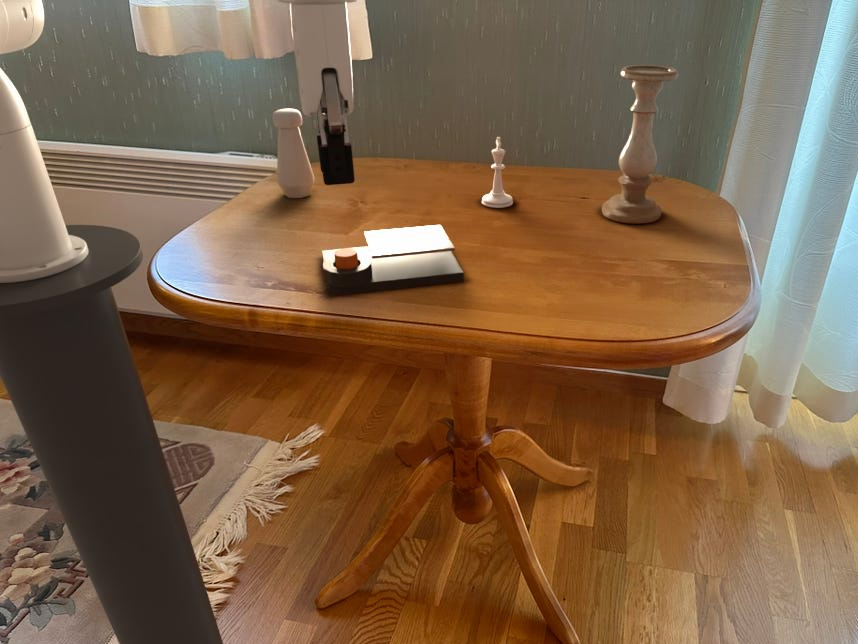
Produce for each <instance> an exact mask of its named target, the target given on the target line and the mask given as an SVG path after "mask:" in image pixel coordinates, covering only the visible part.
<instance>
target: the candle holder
mask: <svg viewBox="0 0 858 644" xmlns="http://www.w3.org/2000/svg"><path fill="white" fill-rule="evenodd" d="M619 74H620V77H621V78H623V79H626V80H631V81H632V83H631V89H632V90H633V91H634V93H635V100H634V102H633V104H632V105H631V106H630V108H629V110H630V111H631V112H632V113H633V116H632V117H633V118H632V124H631V129H630V134H629V137H628V139H627V141H626V143H625V144H624V146H623V147H622V150H621V152H620V154H619V156H618V167H619V169H620V171H621V173H622V175H620V176H619V177H618V182H619V184H620V187H621V193H618V194H614V195H612V196H611V197H610V198H609V199H608V200H607V201H605V202H603V204H602V205H601V213H602V215H603V216H604V217H606V218H607V219H609V220H612V221H615V222H619V223H624V224H625V223H626V224H648V223H653V222H656V221H658V220H659V219H660V218H661V215H662V208H661V206H659V205H658V204H657V203H656V201H655V199H654V198H652V197H650V196H648V195H646V192H647V189H648V188H649V187H650V186H651V185H652V183H653V182H652V178H651V177H650V176H649V175H651V174H652V173H653V172H654V170H655V169H656V167H657V164H658V155H657V152H656V148H655V144H654V141H653V124H654V118H655V114H657V113H659V107H658V104H657V102H656V101H657V96H658V95H659V93H660V92H661V91H662V90H663V89H664V82H670V81H674V80H677V79H678V77H679V72H678V70H677V69H676V68H674V67H671V66H665V65H664V66H663V65H656V64H655V65H654V64H653V65H652V64H634V65H627V66H623V67H622V68H621V70H620V73H619Z"/></svg>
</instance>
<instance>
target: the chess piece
mask: <svg viewBox="0 0 858 644" xmlns="http://www.w3.org/2000/svg"><path fill="white" fill-rule="evenodd" d="M495 144H496V147H495V148H493V149H492V150H491V154H492V157H493V162H494V163H493V164H491V166H490V168H491V169H492V170H494V174H493V182H492V189H491V190H490V192H489V193H486V194H484V195H483V196H482V198H481V204H482V205H483V206H484V207H488V208H494V209H502V208H503V209H504V208H508V207H511V206H512V205H513V203H514V197H512V196H511V195H510V194H508V193H506V191H504V187H503V179H502V178H503V177H502V170H505V169H506V166H505V164H503V163H502V162H503V160H504V156H505V154H506V150H505V149H503V148H501V147H502V142H501V136H496V140H495Z"/></svg>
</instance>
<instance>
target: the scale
mask: <svg viewBox="0 0 858 644" xmlns="http://www.w3.org/2000/svg"><path fill="white" fill-rule="evenodd" d="M350 248H351V249H355V250H356V251H357V255H358V267H355V268H353V269H338V268H336V264H335V255H334V253H335V251H337V250H339V249H340V248H337V249H325V250H321V256H322V257H321V258H322V271H323V272H322V273H323V278H324V279H323V280H324V283H325V284H326V286H327V291H328V297H335V296H343V295H344V296H345V295H352V294H363V293H370V292H371V293H372V292H380V291H388V290H399V289H407V288H415V287H416V288H417V287H425V286H433V285H443V284H452V283H460V282H465V272H464V270H463V269H462V267H461V265H460V264H459V262H458V260H457V259H456V257H455V255H454V253H453V251H446V252H436V253H426V254H416V255H407V256H397V257H387V258H377V259H372V257H371V254H370V251H369V248H368V245H367V246H358V247H350Z"/></svg>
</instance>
